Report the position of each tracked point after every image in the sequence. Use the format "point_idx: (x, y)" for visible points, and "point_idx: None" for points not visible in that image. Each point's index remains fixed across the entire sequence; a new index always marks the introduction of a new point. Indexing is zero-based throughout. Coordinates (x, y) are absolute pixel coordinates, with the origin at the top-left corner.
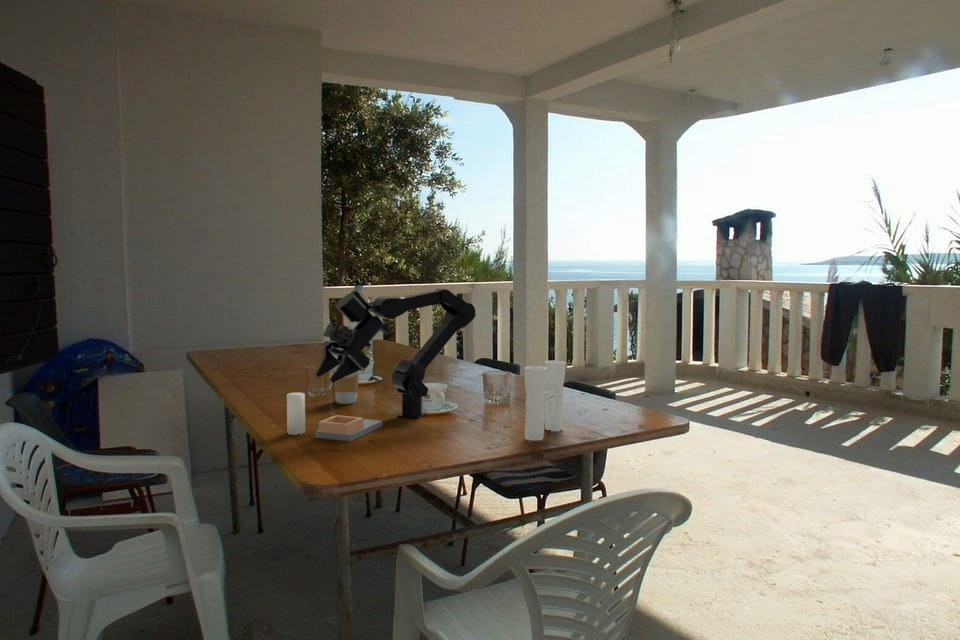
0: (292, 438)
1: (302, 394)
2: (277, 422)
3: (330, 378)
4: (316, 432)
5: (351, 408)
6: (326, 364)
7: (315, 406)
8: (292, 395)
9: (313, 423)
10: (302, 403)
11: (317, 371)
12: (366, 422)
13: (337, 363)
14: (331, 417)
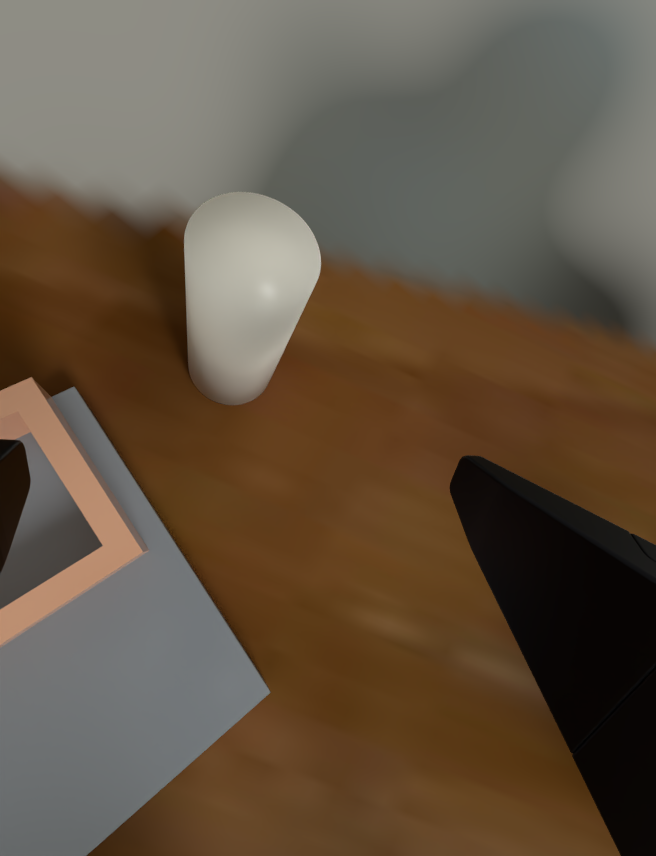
0: (141, 309)
1: (208, 275)
2: (445, 380)
3: (10, 445)
4: (68, 392)
5: (568, 815)
6: (585, 607)
7: None
8: (218, 208)
9: (356, 502)
10: (189, 302)
11: (500, 470)
12: (67, 760)
13: (639, 842)
14: (93, 494)
